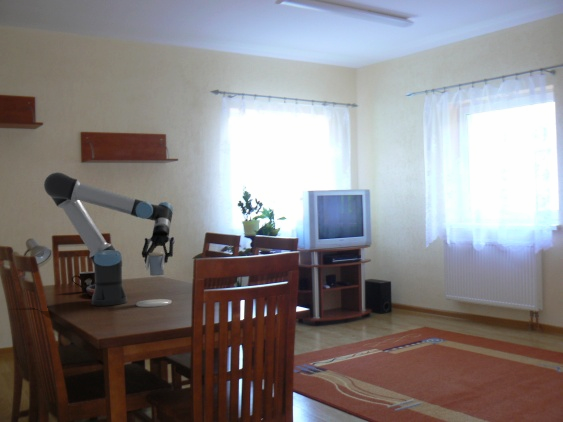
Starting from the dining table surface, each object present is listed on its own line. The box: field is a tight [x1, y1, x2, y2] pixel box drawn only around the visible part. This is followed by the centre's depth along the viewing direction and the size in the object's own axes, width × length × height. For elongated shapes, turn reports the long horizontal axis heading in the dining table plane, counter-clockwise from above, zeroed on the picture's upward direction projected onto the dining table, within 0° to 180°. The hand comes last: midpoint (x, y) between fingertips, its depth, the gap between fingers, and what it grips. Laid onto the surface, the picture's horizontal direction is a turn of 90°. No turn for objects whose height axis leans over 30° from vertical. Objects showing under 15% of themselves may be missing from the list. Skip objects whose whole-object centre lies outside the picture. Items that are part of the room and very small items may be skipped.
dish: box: [86, 284, 95, 297], centre depth 302 cm, size 16×31×5 cm, turn 17°
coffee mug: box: [71, 271, 95, 293], centre depth 316 cm, size 12×9×10 cm
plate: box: [135, 298, 172, 308], centre depth 265 cm, size 15×15×1 cm
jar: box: [149, 251, 165, 277], centre depth 272 cm, size 6×6×10 cm
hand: (154, 267), depth 268 cm, fingers closed on jar, 6 cm apart
